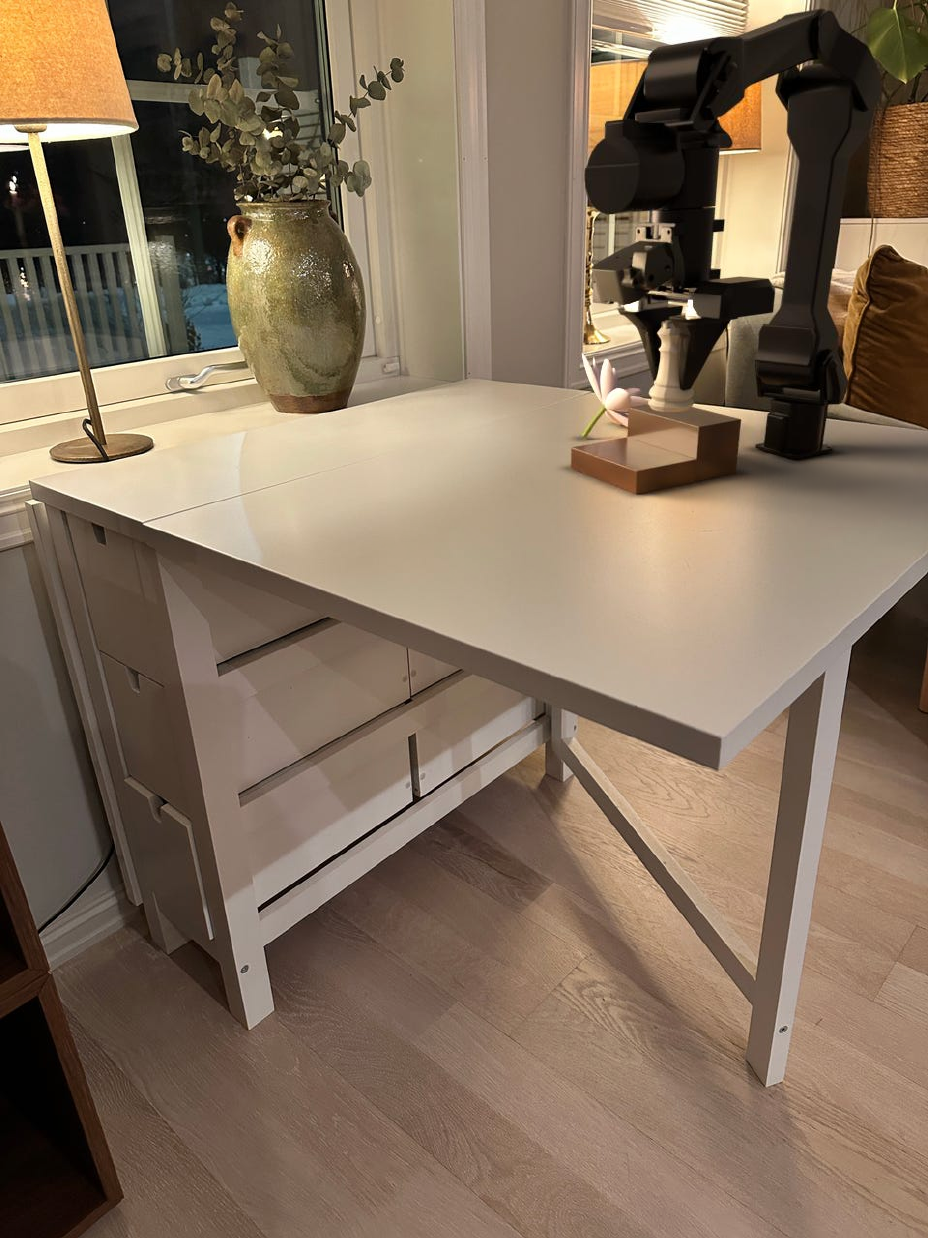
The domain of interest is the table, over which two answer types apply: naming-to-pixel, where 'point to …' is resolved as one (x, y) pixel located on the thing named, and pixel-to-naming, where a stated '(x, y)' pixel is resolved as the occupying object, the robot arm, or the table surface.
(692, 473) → the step shelf
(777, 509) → the table surface
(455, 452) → the table surface
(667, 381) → the rook chess piece
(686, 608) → the table surface
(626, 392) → the water lily
